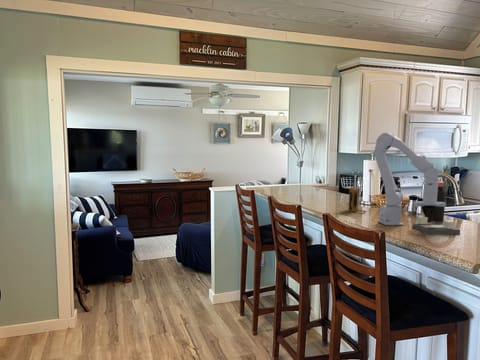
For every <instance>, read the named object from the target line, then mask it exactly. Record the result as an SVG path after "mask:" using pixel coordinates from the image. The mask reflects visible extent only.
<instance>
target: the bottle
mask: <svg viewBox="0 0 480 360" xmlns="http://www.w3.org/2000/svg"><path fill="white" fill-rule="evenodd" d="M445 184H446V183H445V181H438V192H437V202H445V203H446V197H447V196H446V195H447V192H446V191H445V190H444V188H445ZM436 207H437V211H436V212H435V213H434V215H433V217H432V220H431V223H444V220H445V209H446V207H439V206H436Z"/></svg>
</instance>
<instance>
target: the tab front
mask: <svg viewBox="0 0 480 360" xmlns="http://www.w3.org/2000/svg"><path fill="white" fill-rule="evenodd" d="M455 223H456V222H455V221H453V220H452V219H451V220H447V219H446V220H445V219H444V221H443V227H445V228H447V229H454V228H455Z"/></svg>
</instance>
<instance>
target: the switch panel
mask: <svg viewBox="0 0 480 360" xmlns="http://www.w3.org/2000/svg"><path fill="white" fill-rule="evenodd" d="M443 224H444V222H427V224H420V223H417V222H413V223H412V228H414V229H416V230H418V231H420V232H423V233H425V234H427V235H460V234H461V229H459V228H456V227H454V229H447V228H445V227H443Z"/></svg>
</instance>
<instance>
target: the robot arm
mask: <svg viewBox="0 0 480 360" xmlns="http://www.w3.org/2000/svg"><path fill="white" fill-rule="evenodd" d="M390 148H396V149H398V150H399V151H401V152H402V153H403V154H405V156H406V157H407V158H409V159H410V163H411V165H413V166H414V168H416V169H417V170H418V171H419V172H420V173H422V174H423V176H424V182H423V192H422V193H423V194H422V196H423V197H422V200H421V201H413V202H412V206H413V207H420V208H421V210H422V212H423V216H425V217H428V220H427V223H432V221H431V220H432V217H433V215H434V213H435V212H436V211H437V207H436V206H439V207H445V208H446V206H447V205H446V204H447V203H446V201H445V202H437V192H438V182H439V176H440V170H439V168H438V167H437V166H435V165H434V163H433V162H430V161H429V160H428V159H427V158H426V157H427V156H425V155H422V154H417V153H416V152H415V151H413V149H412V148H410V147H409V146H408V145H407V144H406V143H405V142H404V141H403V140H402V139H400V138H399V137H397V136H396V135H395V134H393V133H389V132H382V133H381V134H380V135H379V136H378V137H377V139H376V143H375V147H374V150H373V155H374V158H375V161H376V164H377V167H378V170H379V173H380V176H381V177H380V178H382V182H383V185H384V193H385V202H386V203H385V205H381V206H380V207H379V215H378V216H379V217H378V220H377V221H378V222H379V223H381V224H382V225H384V226H404V225H405V223H403V222H401V221H402V210H403V209H402V207H403V205H402V204H401V202H402V201H403V199H404V196H403V194H402V192H401V191H400V190H399V187H398V186H397V184H396V182H395V178H394V176H393V173H392V169H391V166H390V164H389V161H388V157H387V152H388V151H389V150H390Z"/></svg>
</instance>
